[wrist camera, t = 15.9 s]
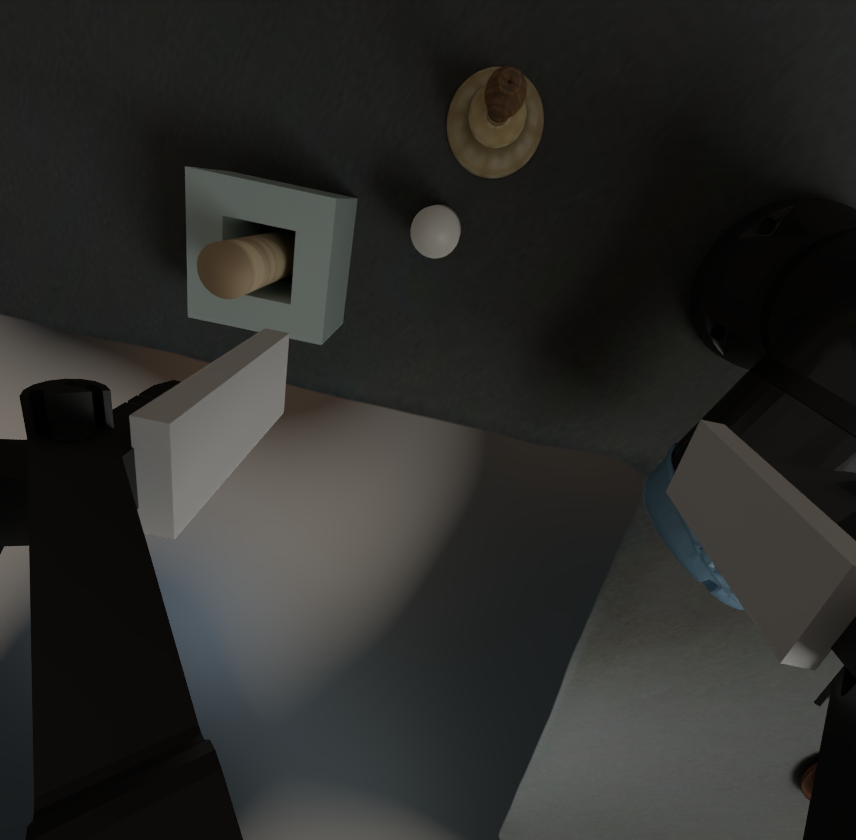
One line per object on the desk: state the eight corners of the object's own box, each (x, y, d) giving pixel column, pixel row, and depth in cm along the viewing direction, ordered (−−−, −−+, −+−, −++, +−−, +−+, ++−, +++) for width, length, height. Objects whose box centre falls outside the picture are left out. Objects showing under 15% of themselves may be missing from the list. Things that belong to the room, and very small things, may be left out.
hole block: (357, 198, 45) (336, 198, 38) (342, 323, 50) (321, 345, 43) (230, 171, 45) (185, 166, 38) (228, 299, 50) (187, 317, 43)
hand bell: (437, 83, 41) (419, 21, 26) (535, 53, 40) (574, -30, 25) (457, 189, 44) (452, 185, 30) (549, 164, 43) (591, 147, 28)
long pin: (311, 234, 47) (252, 249, 34) (307, 276, 48) (249, 304, 36) (270, 225, 47) (196, 235, 34) (267, 267, 48) (196, 292, 36)
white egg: (465, 209, 45) (464, 211, 38) (455, 254, 46) (453, 263, 40) (423, 200, 45) (415, 200, 38) (415, 245, 46) (406, 252, 40)
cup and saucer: (900, 765, 72) (937, 812, 66) (834, 802, 77) (863, 850, 71) (839, 734, 70) (872, 781, 65) (776, 775, 75) (801, 821, 69)
